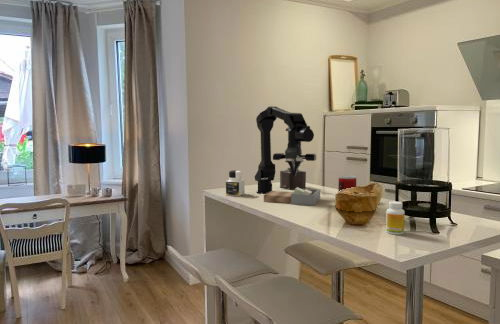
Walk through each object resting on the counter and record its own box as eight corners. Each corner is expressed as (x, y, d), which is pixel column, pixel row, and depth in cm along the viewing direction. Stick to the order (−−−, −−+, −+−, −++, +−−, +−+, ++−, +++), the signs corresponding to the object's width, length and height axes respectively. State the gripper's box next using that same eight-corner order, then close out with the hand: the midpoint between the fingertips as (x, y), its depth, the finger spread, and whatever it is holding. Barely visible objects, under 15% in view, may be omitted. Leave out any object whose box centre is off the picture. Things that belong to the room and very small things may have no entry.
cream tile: (304, 190, 173) (310, 193, 172) (305, 189, 176) (312, 191, 176) (300, 198, 173) (307, 201, 173) (302, 197, 177) (309, 199, 176)
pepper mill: (278, 187, 215) (278, 155, 213) (294, 186, 220) (294, 154, 219) (296, 191, 201) (296, 157, 200) (312, 189, 207) (312, 156, 206)
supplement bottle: (406, 235, 121) (407, 204, 120) (388, 234, 121) (388, 204, 121) (401, 230, 126) (402, 201, 125) (384, 230, 127) (385, 200, 126)
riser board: (263, 201, 175) (263, 195, 175) (271, 197, 186) (271, 190, 186) (292, 203, 171) (292, 196, 170) (298, 198, 182) (298, 192, 182)
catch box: (291, 204, 169) (291, 193, 169) (298, 198, 183) (298, 188, 183) (314, 205, 166) (314, 195, 166) (320, 199, 180) (320, 189, 180)
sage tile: (292, 194, 174) (295, 188, 174) (294, 193, 178) (297, 187, 178) (301, 198, 173) (303, 192, 173) (303, 196, 177) (305, 190, 176)
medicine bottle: (225, 195, 192) (225, 171, 191) (231, 193, 198) (231, 169, 197) (239, 196, 189) (238, 171, 188) (244, 193, 196) (244, 170, 195)
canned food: (359, 200, 178) (359, 176, 177) (350, 202, 172) (350, 178, 171) (343, 198, 183) (344, 174, 182) (335, 200, 177) (335, 176, 176)
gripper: (269, 141, 170) (269, 177, 171) (311, 142, 163) (311, 179, 165) (276, 140, 180) (276, 174, 181) (316, 141, 174) (316, 175, 175)
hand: (294, 176), depth 175 cm, fingers closed
